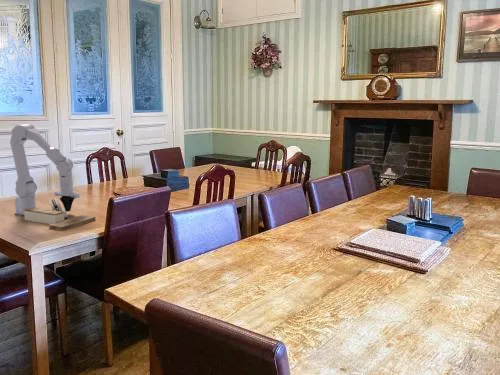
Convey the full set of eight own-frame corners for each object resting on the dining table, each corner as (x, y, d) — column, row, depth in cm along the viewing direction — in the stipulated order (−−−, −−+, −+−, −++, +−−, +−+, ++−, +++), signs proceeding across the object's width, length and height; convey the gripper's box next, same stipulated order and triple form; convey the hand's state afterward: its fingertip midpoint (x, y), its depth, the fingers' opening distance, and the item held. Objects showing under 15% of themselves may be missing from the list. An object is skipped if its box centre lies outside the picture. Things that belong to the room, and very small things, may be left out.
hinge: (69, 219, 222) (60, 200, 219) (59, 223, 221) (50, 204, 217) (65, 211, 237) (57, 194, 234) (56, 215, 235) (47, 198, 232)
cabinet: (24, 219, 221) (23, 209, 220) (33, 217, 225) (32, 207, 224) (55, 224, 212) (54, 214, 212) (64, 222, 217) (63, 211, 216)
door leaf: (49, 228, 207) (48, 225, 206) (82, 218, 225) (82, 215, 224) (62, 230, 203) (62, 227, 203) (95, 219, 221) (95, 216, 221)
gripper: (83, 183, 229) (85, 210, 232) (61, 181, 235) (63, 207, 238) (72, 186, 223) (74, 213, 226) (50, 183, 229) (52, 210, 232)
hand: (68, 211), depth 232 cm, fingers closed
